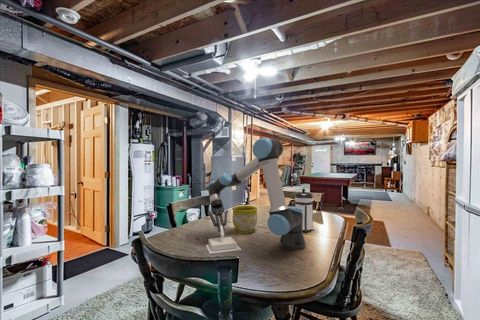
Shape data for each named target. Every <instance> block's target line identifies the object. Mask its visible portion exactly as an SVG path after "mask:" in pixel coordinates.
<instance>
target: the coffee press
mask: <svg viewBox="0 0 480 320" xmlns="http://www.w3.org/2000/svg"><path fill="white" fill-rule="evenodd" d="M292 203H294V207H299V208H302V211H303V231H304V233H305V234H307V233H308V231H310V230H312V231H315V228H314V226H313V225H314V223H313V218H314V217H313V216H314V215H313V214H314V213H313V212H314V210H313V209H314V208H313V207H314V205H313V204H314V195H313V194H312V193H311V192H309V191H306V188H302V191H298V192H296V193H295V194H294V199H291V200H289V202H288V206H292Z"/></svg>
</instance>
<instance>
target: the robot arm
mask: <svg viewBox="0 0 480 320" xmlns="http://www.w3.org/2000/svg"><path fill="white" fill-rule="evenodd" d="M283 152H284V145H283V143H282V141H281V140H279V139H277V138H271V137H270V138H269V137H260V138H258V139H256V140H255V142H254V143H253V144H252V154H253V156H254V158H253V159H252V160H250V161H249V162H248V163H247V164H245V165H244V166H242V167H241V168H240V169H239V170H237V171H236V172H235V173H233V174H231V175H230V174H229V173H227V172H224V173H222V174H221V175H220V176H219V177H218V178H217V179H216V180H212V181H210V182H208V184H207V191H208V196H209V197H208V198H209V203H210V211H208V212H207V215H208V216H209V217H210V219H211V222H212V224H213V226H214V227H216V228H217V232H219V234H220V238H222V237H225V230H226V229H225V227H226V226H227V224H228V223H227V222H228V221H227V220H228V212H229V210H228V209H227V210H226V209H225V208H224V205H223V200H222V195H221V192H222V191H223V190H225V188H231V187H238V186H240V185H242V184H243V182H244V181H245V180H247V179H248V178H249V177H250V176H252V175H253V174H255V173H256V172H257V171H259V170H260V169H262V172H263V176H264V180H265V181H264V182H265V187H266V190H267V191H266V192H267V195H268V199H269V204H270V205H269V206H270V208H269V210H268V214H269V217H268V219H267V227H268V229H269V231H270V232H271V233H272V234H273V235H276V236H279V237H280V240H279V246H280V247H281V248H283V249H286V250H289V251H290V250H292V251H299V250H303V249H305V248H306V245H307V244H306V240H305V237H304V233H303V231H304V230H303V211H302V208H299V207H295V206H292V205H291V206H289V205H287V203H286V197H285V194H284V188H283V185H282V180H281V175H280V170H279V165H278V161H280V157H281V156H282V154H284V153H283ZM223 214H224V217H223Z"/></svg>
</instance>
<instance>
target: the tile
mask: <svg viewBox="0 0 480 320" xmlns="http://www.w3.org/2000/svg"><path fill="white" fill-rule="evenodd" d="M207 242H208V244H209V245H210V247H211V249H212V250H213V251H217V250H225V249H233V248H237V245H238V243H237V242H236V240H235V239H234V238H233V237H232V236H224V237H214V238H208V241H207Z"/></svg>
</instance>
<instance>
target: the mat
mask: <svg viewBox="0 0 480 320" xmlns="http://www.w3.org/2000/svg"><path fill="white" fill-rule="evenodd" d="M205 245H206V246H205V247H206V249H207V252H208V253H209V255H215V254H222V253H223V254H224V253H230V252H238V251H242V249H241V247H240V246H239V245H238V244H237V248H233V249H225V250H217V251H213V250H212V249H211V247H210V245H209V243H208V244H205Z"/></svg>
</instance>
